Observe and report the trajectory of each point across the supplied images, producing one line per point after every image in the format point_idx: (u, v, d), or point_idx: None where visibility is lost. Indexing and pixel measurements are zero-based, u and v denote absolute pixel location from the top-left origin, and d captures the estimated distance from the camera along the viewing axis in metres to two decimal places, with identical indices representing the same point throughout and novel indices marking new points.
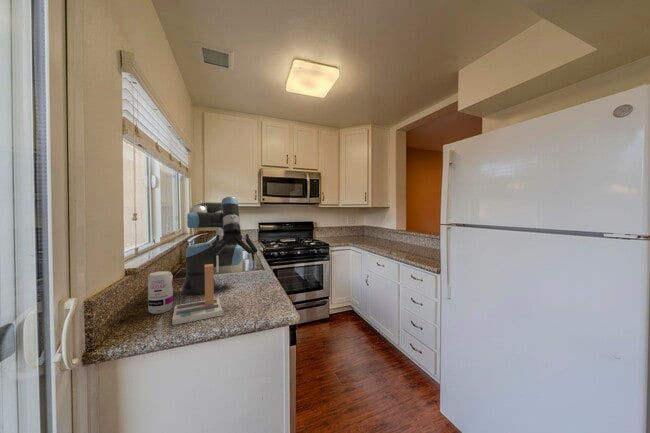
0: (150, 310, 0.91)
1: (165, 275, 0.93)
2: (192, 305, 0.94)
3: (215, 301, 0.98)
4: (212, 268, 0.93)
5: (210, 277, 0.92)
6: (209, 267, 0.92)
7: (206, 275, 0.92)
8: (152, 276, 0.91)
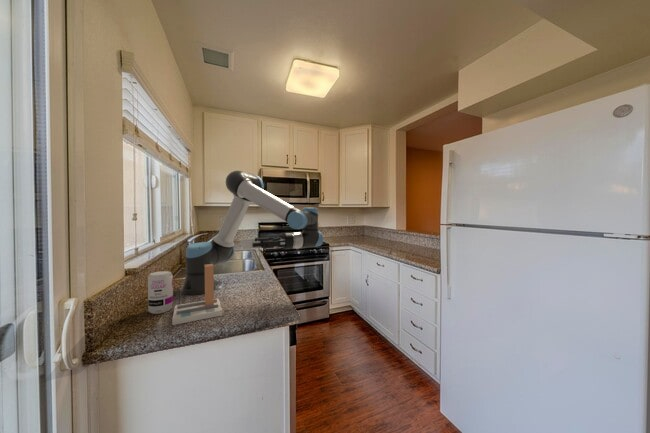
0: (150, 310, 0.91)
1: (165, 275, 0.93)
2: (192, 305, 0.94)
3: (215, 301, 0.98)
4: (212, 268, 0.93)
5: (210, 277, 0.92)
6: (209, 267, 0.92)
7: (206, 275, 0.92)
8: (152, 276, 0.91)
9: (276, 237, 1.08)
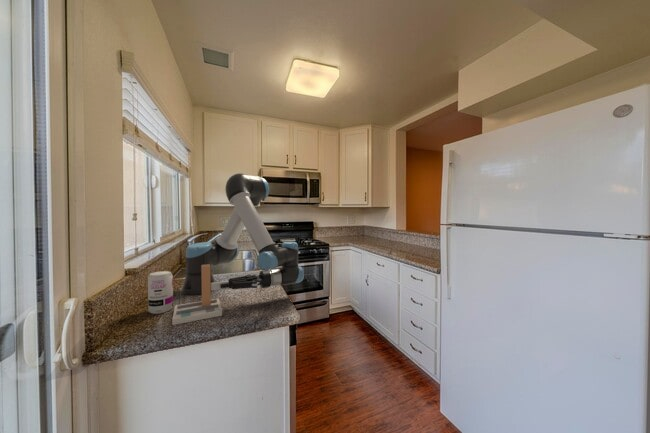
0: (150, 310, 0.91)
1: (165, 275, 0.93)
2: (192, 305, 0.94)
3: (215, 301, 0.98)
4: (209, 268, 0.92)
5: (207, 277, 0.92)
6: (206, 267, 0.92)
7: (203, 275, 0.91)
8: (152, 276, 0.91)
9: (253, 276, 1.02)
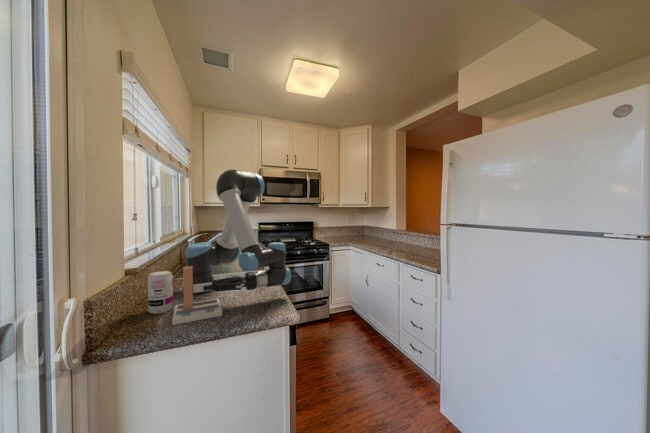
0: (150, 310, 0.91)
1: (165, 275, 0.93)
2: None
3: (215, 301, 0.98)
4: (191, 270, 0.89)
5: (189, 279, 0.89)
6: (188, 269, 0.89)
7: (184, 278, 0.88)
8: (152, 276, 0.91)
9: (238, 277, 1.00)
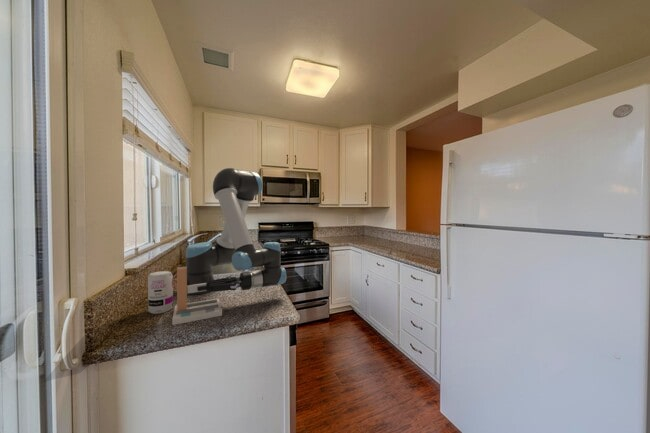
0: (150, 310, 0.91)
1: (165, 275, 0.93)
2: (192, 305, 0.94)
3: (215, 301, 0.98)
4: (185, 271, 0.88)
5: (183, 280, 0.88)
6: (181, 270, 0.88)
7: (178, 278, 0.87)
8: (152, 276, 0.91)
9: (233, 278, 0.99)
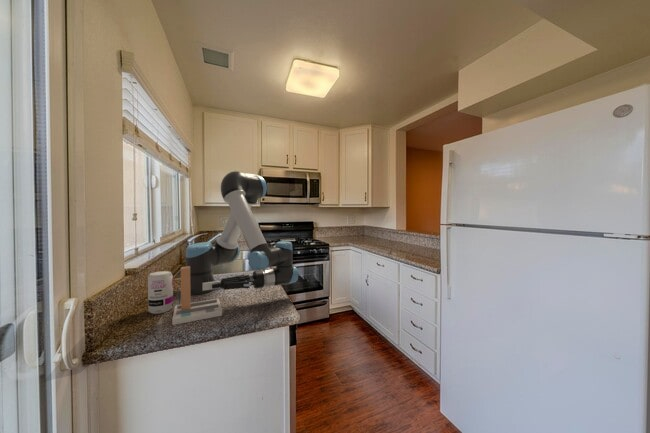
0: (150, 310, 0.91)
1: (165, 275, 0.93)
2: (192, 305, 0.94)
3: (215, 301, 0.98)
4: (188, 270, 0.89)
5: (186, 280, 0.89)
6: (185, 269, 0.88)
7: (182, 278, 0.88)
8: (152, 276, 0.91)
9: (246, 276, 1.01)
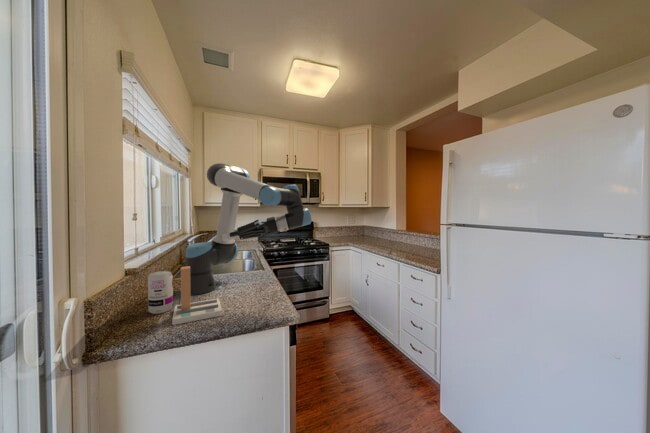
0: (150, 310, 0.91)
1: (165, 275, 0.93)
2: (192, 305, 0.94)
3: (215, 301, 0.98)
4: (188, 270, 0.89)
5: (186, 280, 0.89)
6: (185, 269, 0.88)
7: (182, 278, 0.88)
8: (152, 276, 0.91)
9: None
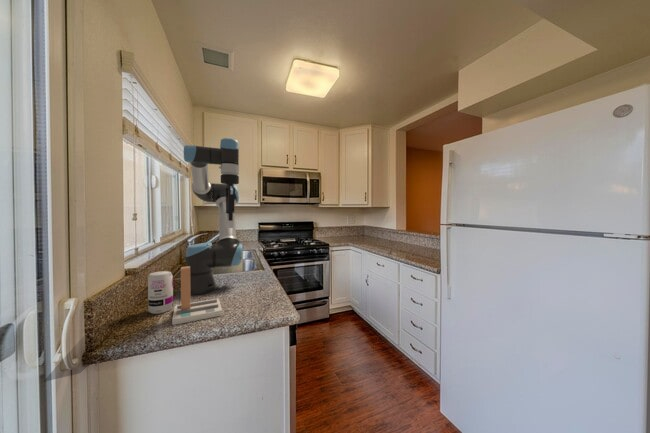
0: (150, 310, 0.91)
1: (165, 275, 0.93)
2: (192, 305, 0.94)
3: (215, 301, 0.98)
4: (188, 270, 0.89)
5: (186, 280, 0.89)
6: (185, 269, 0.88)
7: (182, 278, 0.88)
8: (152, 276, 0.91)
9: (234, 190, 1.05)
